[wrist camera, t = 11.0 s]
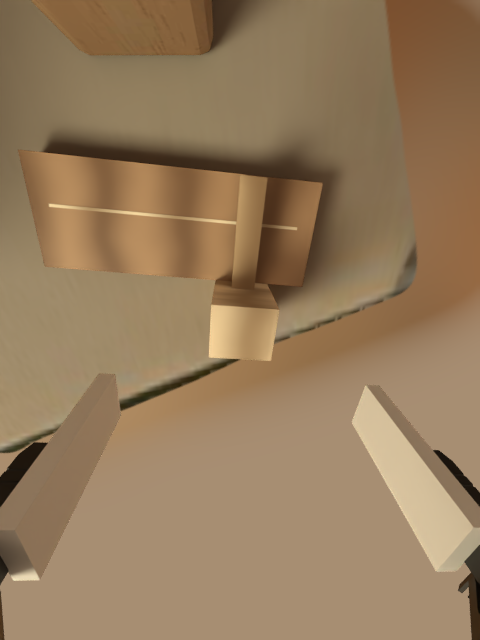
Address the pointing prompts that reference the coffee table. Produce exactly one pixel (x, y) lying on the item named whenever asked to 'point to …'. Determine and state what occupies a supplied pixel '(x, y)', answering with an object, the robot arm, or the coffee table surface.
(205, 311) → the coffee table surface
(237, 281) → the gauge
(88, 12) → the wooden block
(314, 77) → the coffee table surface
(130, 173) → the board
